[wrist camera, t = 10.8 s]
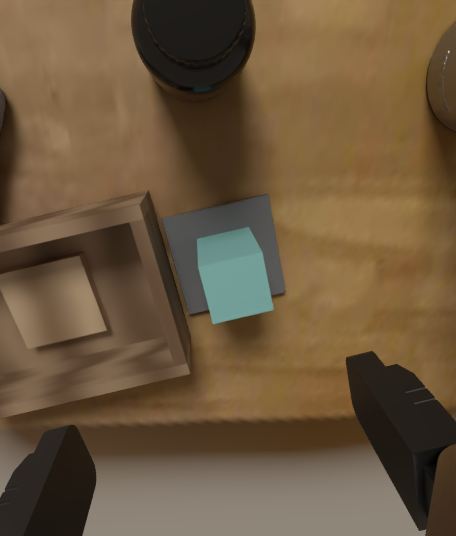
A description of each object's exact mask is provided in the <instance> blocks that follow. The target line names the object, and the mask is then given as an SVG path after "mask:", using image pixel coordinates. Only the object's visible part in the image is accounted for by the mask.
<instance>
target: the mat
mask: <svg viewBox="0 0 456 536" xmlns="http://www.w3.org/2000/svg"><path fill="white" fill-rule="evenodd" d="M162 221H163V224H164V228H165V232H166V235H167V239H168V242H169V246H170V249H171V253H172V256H173V260H174V263H175V267H176V270H177V274H178V277H179V281H180V284H181V288H182V292H183V295H184V299H185V302H186V306H187V309H188V313H189V315H190V314H194V313H198V312H203V311H207V310H209V307H208V303H207V299H206V296H205V292H204V288H203V284H202V280H201V276H200V273H199V269H198V252H197V239H199V238H203V237H208V236H212V235H216V234H220V233H225V232H229V231H233V230H238V229H242V228H246V227H249V228H250V230H251V232H252V234H253V236H254V238H255V239H256V241H257V243H258V245H259V247H260V249H261V251H262V253H263V258H264V263H265V268H266V273H267V278H268V283H269V288H270V294H271V295H275V294H280V293H284V292H286V291H285V285H284V280H283V274H282V268H281V263H280V257H279V252H278V246H277V241H276V235H275V230H274V224H273V218H272V213H271V207H270V202H269V196H268V194H265V195H261V196H256V197H252V198H248V199H243V200H239V201H235V202H230V203H226V204H222V205H218V206H213V207H209V208H205V209H200V210H196V211H192V212H188V213H183V214H179V215H175V216H170V217H166V218H163V219H162Z"/></svg>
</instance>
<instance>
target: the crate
mask: <svg viewBox="0 0 456 536" xmlns="http://www.w3.org/2000/svg"><path fill="white" fill-rule="evenodd" d="M188 374H190V333H189V329H188V326H187V322H186V319H185V315H184V312H183V308H182V305H181V301H180V298H179V295H178V291H177V288H176V284H175V281H174V277H173V274H172V270H171V267H170V263H169V260H168V256H167V253H166V249H165V246H164V242H163V239H162V236H161V232H160V229H159V225H158V222H157V218H156V215H155V211H154V208H153V204H152V201H151V197H150V194H149V190H148V191H144V192H140V193H135V194H131V195H127V196H123V197H118V198H114V199H110V200H105V201H101V202H97V203H92V204H88V205H84V206H80V207H75V208H71V209H67V210H62V211H58V212H54V213H50V214H45V215H41V216H37V217H32V218H28V219H24V220H19V221H15V222H11V223H7V224H2V225H0V418H4V417H9V416H13V415H17V414H21V413H26V412H30V411H34V410H38V409H43V408H47V407H51V406H56V405H60V404H64V403H68V402H73V401H77V400H81V399H85V398H90V397H94V396H98V395H102V394H107V393H111V392H115V391H119V390H124V389H128V388H132V387H136V386H141V385H145V384H149V383H153V382H158V381H162V380H166V379H171V378H175V377H179V376H183V375H188Z"/></svg>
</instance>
